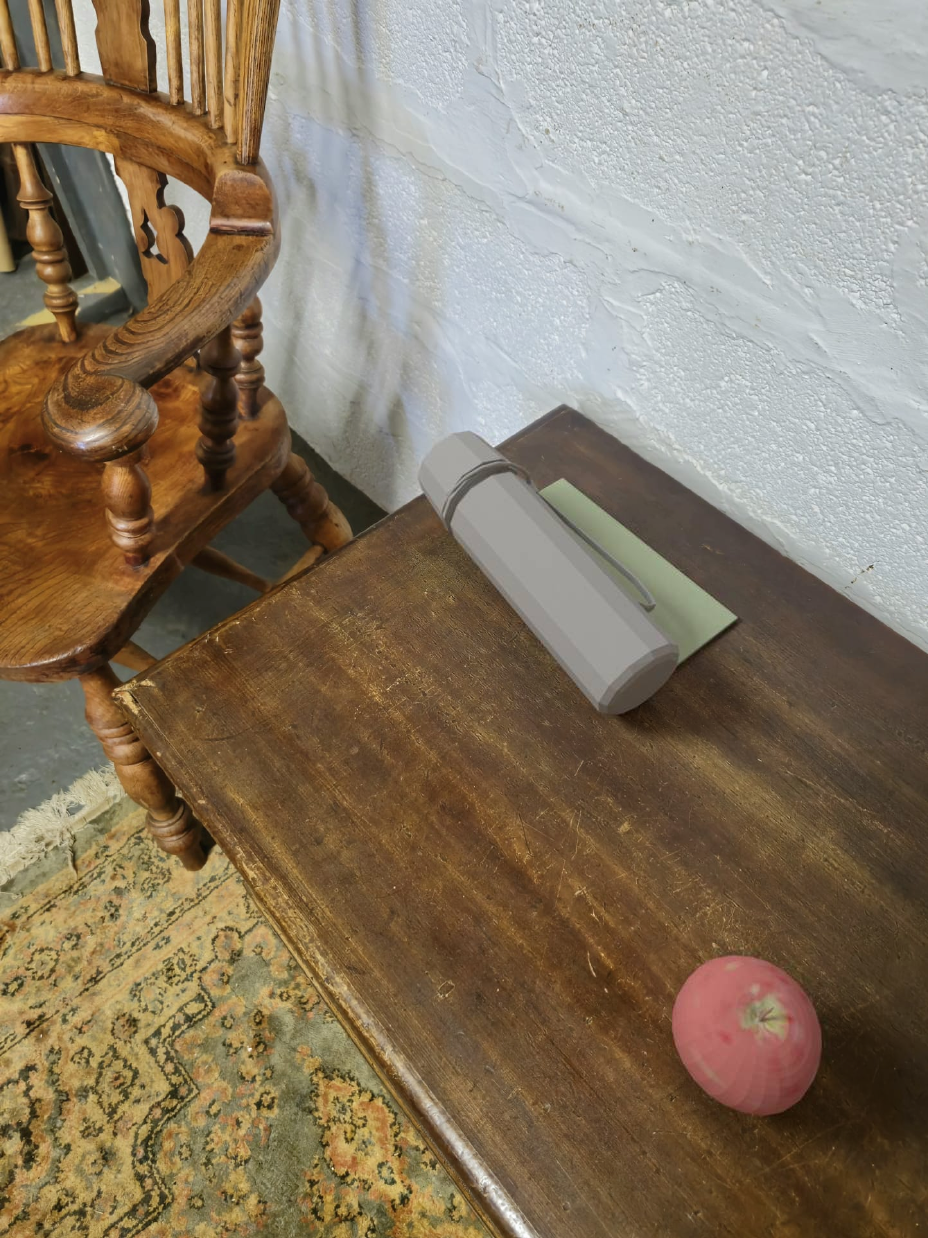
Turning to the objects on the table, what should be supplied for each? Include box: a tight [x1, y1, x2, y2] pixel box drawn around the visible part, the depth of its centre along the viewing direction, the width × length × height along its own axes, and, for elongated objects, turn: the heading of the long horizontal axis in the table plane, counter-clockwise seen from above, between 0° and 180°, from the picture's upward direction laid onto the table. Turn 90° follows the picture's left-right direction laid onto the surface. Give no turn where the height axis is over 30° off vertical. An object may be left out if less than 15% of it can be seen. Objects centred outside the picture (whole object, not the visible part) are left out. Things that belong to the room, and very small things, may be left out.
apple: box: [671, 954, 823, 1117], centre depth 45 cm, size 7×7×8 cm
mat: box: [539, 477, 739, 668], centre depth 69 cm, size 20×12×1 cm, turn 40°
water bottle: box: [417, 430, 679, 716], centre depth 64 cm, size 9×8×25 cm
